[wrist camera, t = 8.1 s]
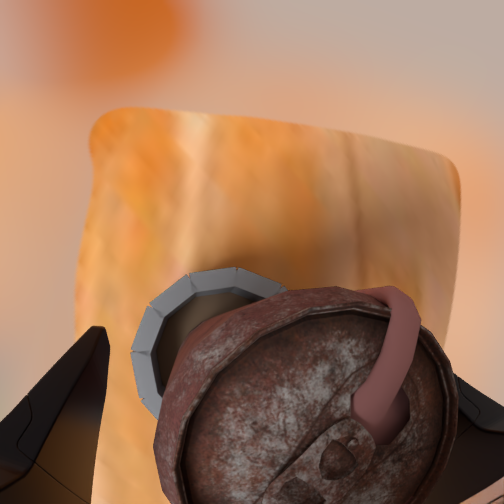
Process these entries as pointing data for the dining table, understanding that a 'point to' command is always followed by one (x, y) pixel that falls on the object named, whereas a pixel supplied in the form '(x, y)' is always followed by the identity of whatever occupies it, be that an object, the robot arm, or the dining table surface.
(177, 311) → the segmented gray ring
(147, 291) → the dining table surface
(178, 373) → the can
